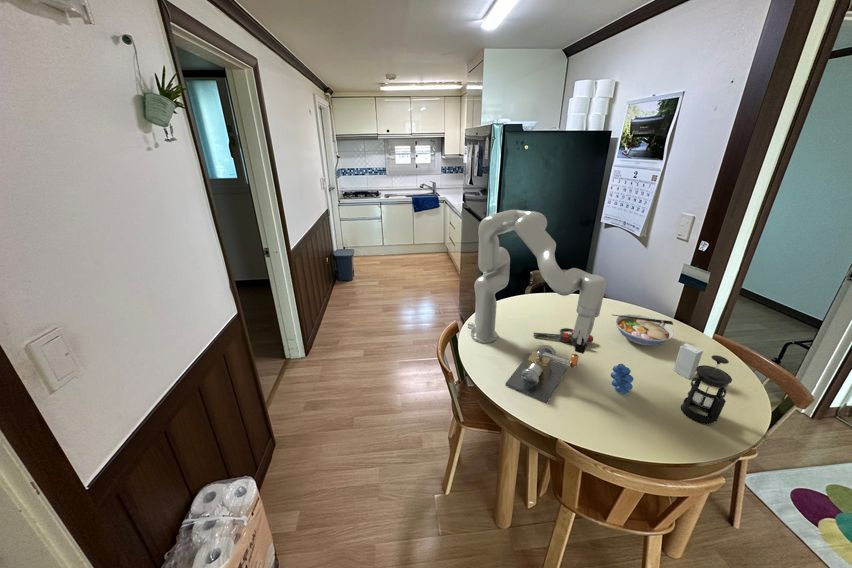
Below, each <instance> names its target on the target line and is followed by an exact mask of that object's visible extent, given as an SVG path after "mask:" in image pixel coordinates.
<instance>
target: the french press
mask: <svg viewBox="0 0 852 568" xmlns="http://www.w3.org/2000/svg"><path fill="white" fill-rule="evenodd" d="M711 359H712V360H713V361H715V362H716V367H715V366H712V365H704V364H703V365H698V367H697V368H696V373H695V376H696V377H695V376H694V377H692V378H691V382H690V386H691V388H690V390H689V391H688V393H687V397H685V398H684V399H683V402H682V404H681V405H680V411H681V413H683V415H684V416H686V418H688V419H689V420H691V421H693V422H696V423H699V424H701V425H712V424H713V423H715V422H717V421H718V419H719V418H720V415H721V413H722V411H723V409H724V407H725V404H726V402H727V401H726V399H725V398H726V395H727V387H728V386H729V385H730V384H731V383H732V382H733V378H732V377H731V376H730V375H729V373H728V372H725V371H724V370H722V369H720V368H719V365H721V364H724V365H725V364H726V365H727V364H729V363H730V362H729V360H728V359H727V358H726V357H724V356H721V355H718V354H717V355H716V354H714V355H711ZM701 382H702V384H705V385H707V387H706V390H705V391H703V390H702V389H700V388H699V387H700V385H701ZM710 387H713V388H716V389H717V388H718V389H717V392H716V394H711V393H709V392H708V391H709V389H710ZM690 406H691V407H696V408H697V407H698V408H699V409H701V410H703V411H705V412H706V415H705V414H702V413H698V412H696V411H694V410H693V409H691V408H690Z"/></svg>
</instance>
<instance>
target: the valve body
mask: <svg viewBox="0 0 852 568" xmlns="http://www.w3.org/2000/svg"><path fill="white" fill-rule="evenodd" d="M538 350H543V351H544V352H546V353H549V354H552V355H555V356H557V354H556V350H555V349H554V347H552V346H550V345H548V344H543V345H541V346H540V347H539V349H538ZM536 354H537V350H533V351H532V353H531V352H529V353H528V354H527V355H526V356H525V358H523V360H522V362H521V363H520V364H519V365H518V367H516V369H515V370H514V371H513V373H512V374H511V375H510V376H509V378H508V379H507V381H506V382H505V384H504V385H505V386H506V387H508V388H510V389H512V390H515V391H516V392H519V393H522V394H524V395H527V396H529V397H530V398H534V399H535V400H538V401H540V402H542V403H544V404H548V403H549V400H550V399H551V397H552V395H553V394H554V392H555V390H556V389H557V386H558V385H559V383H560V381H561V380H562V378H563V376H564V374H565V372H566V371H567V369H568V365H565V364H562V363H560V362H557V361H554V360H551V359H548V358H546V357H543V358H540V357H537V355H536Z"/></svg>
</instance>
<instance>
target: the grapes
mask: <svg viewBox="0 0 852 568" xmlns="http://www.w3.org/2000/svg"><path fill="white" fill-rule="evenodd" d="M631 372H632V370H631V369H630V368H629V367H627V366H626V365H625V364H623V363H618V364H617V365H614V366H613V367H612V372H611V373H610V377H611V378H612V379H613V380H612V381H611V383H610V384H611V385H612V386H613V387H614V390H615V392H616V393H619V394H622V395H628V394H629V392H630V391H631V390H632V389H634V386H633V384H632V383H633V381H634V377H633V375H631Z"/></svg>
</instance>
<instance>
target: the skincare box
mask: <svg viewBox="0 0 852 568" xmlns="http://www.w3.org/2000/svg"><path fill="white" fill-rule="evenodd" d="M703 353H704V350H702V349H700V348H698V347H695V346H694V345H692V344H689V343H684V344H681V345H680V347H679V350H678V354H677V355H676V356H677V357H676V359H675V364H674V366H673V369H672V371H673V372H675V373H677V374H679V375H681V376H682V377H684V378H686V379H688V380H690V379H693V378H695V376H696V373H697V371H696V368H697V367H698V366H700V365H699V364H700V361H701V358H702V355H703Z"/></svg>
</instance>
